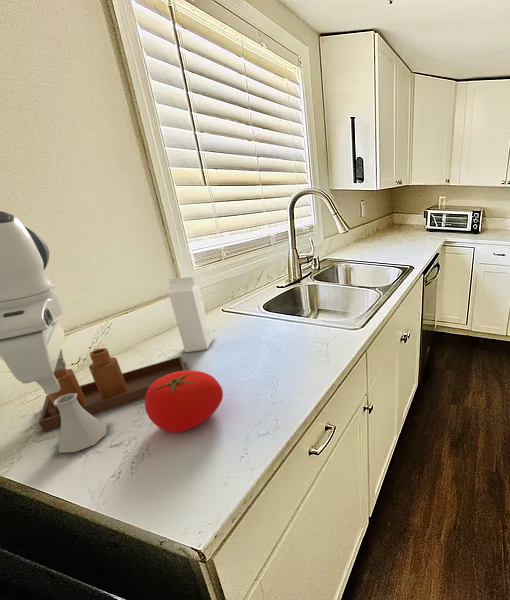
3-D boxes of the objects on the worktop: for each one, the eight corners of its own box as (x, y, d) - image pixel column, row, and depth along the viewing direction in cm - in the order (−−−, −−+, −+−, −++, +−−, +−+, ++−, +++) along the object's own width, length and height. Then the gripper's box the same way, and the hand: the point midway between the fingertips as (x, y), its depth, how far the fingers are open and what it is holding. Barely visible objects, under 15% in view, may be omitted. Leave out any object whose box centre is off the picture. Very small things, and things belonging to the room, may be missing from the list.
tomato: (181, 400, 75) (168, 358, 71) (237, 404, 74) (226, 361, 70) (135, 441, 64) (116, 393, 60) (200, 447, 63) (185, 398, 58)
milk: (207, 349, 98) (189, 279, 90) (184, 352, 96) (164, 281, 88) (212, 340, 103) (196, 273, 95) (190, 343, 102) (172, 275, 93)
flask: (71, 431, 67) (51, 391, 63) (114, 422, 69) (97, 383, 65) (50, 458, 60) (27, 415, 57) (98, 447, 63) (79, 405, 59)
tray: (43, 431, 67) (38, 422, 66) (50, 404, 75) (46, 395, 74) (190, 382, 82) (187, 373, 81) (183, 363, 90) (180, 356, 89)
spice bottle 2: (102, 404, 74) (83, 359, 70) (102, 394, 78) (84, 350, 74) (129, 396, 77) (112, 352, 73) (128, 386, 81) (112, 344, 76)
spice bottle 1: (56, 419, 70) (33, 372, 66) (59, 408, 74) (37, 362, 69) (86, 410, 73) (66, 364, 68) (87, 399, 76) (68, 354, 72)
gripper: (10, 298, 60) (41, 362, 65) (-23, 336, 45) (21, 415, 50) (57, 290, 64) (84, 351, 69) (41, 323, 49) (76, 398, 54)
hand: (57, 379), depth 59 cm, fingers open, 8 cm apart
